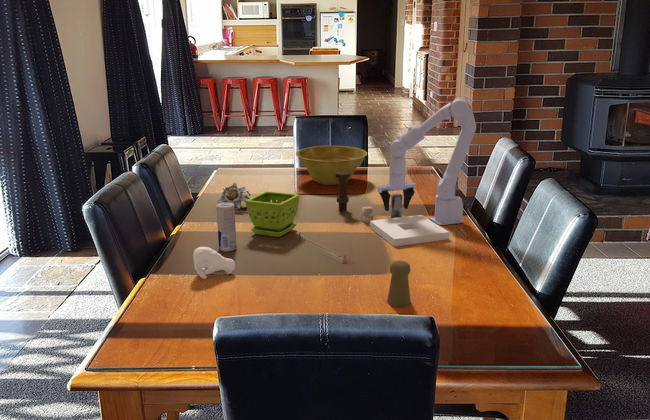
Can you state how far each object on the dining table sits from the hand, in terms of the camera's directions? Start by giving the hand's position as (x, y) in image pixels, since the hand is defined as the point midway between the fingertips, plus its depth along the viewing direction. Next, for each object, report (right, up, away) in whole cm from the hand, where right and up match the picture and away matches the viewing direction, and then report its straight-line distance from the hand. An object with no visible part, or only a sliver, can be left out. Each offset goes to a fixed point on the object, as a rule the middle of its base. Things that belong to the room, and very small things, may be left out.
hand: (396, 209), depth 220 cm
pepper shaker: (-7, -24, -65) cm, 69 cm away
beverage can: (-57, -13, -28) cm, 65 cm away
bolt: (-19, -1, +11) cm, 22 cm away
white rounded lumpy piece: (-58, -19, -47) cm, 77 cm away
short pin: (-11, -4, -1) cm, 12 cm away
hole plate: (+2, -8, -14) cm, 17 cm away
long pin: (0, -3, +1) cm, 4 cm away
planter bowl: (-23, +13, +54) cm, 60 cm away
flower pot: (-44, -8, -12) cm, 46 cm away
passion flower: (-61, 0, +16) cm, 63 cm away
